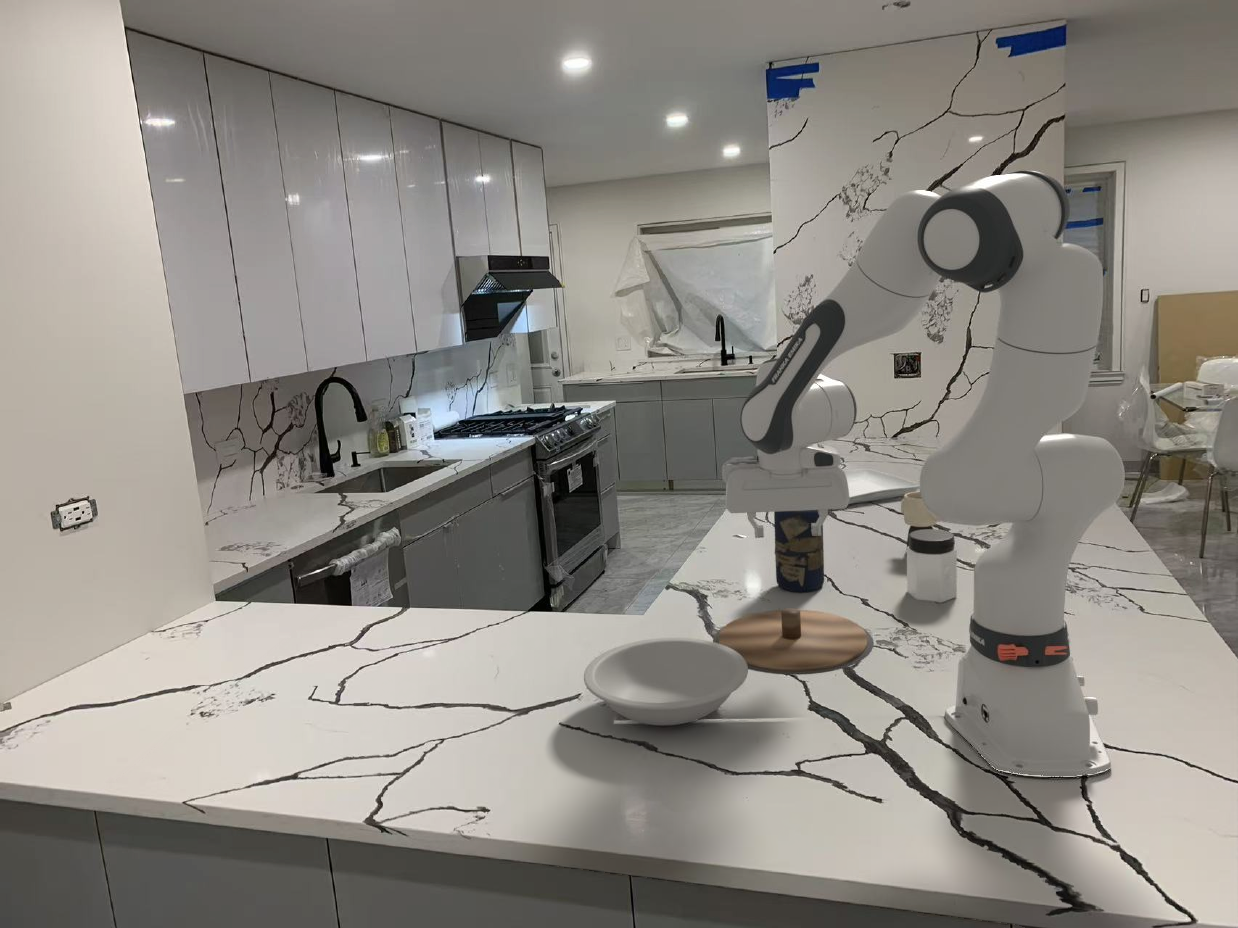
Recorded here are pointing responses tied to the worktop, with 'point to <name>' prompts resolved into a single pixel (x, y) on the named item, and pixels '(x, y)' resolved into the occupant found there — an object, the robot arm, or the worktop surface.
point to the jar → (932, 565)
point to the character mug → (916, 513)
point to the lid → (794, 639)
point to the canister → (798, 551)
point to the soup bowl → (666, 679)
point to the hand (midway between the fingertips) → (787, 535)
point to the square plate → (876, 485)
